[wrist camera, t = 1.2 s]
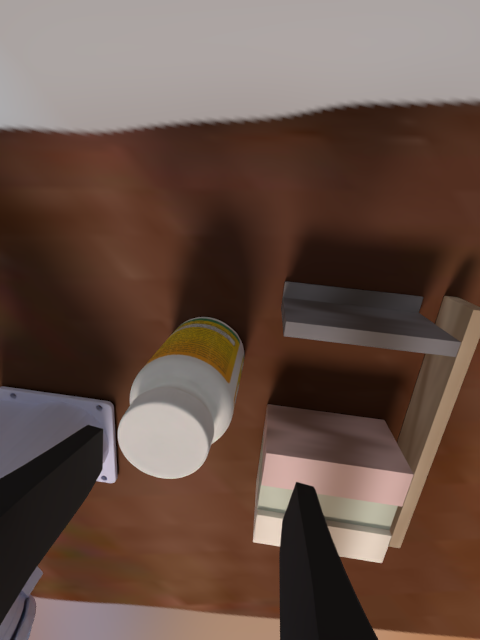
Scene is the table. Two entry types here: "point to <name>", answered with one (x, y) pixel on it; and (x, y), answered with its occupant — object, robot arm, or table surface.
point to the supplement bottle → (183, 399)
